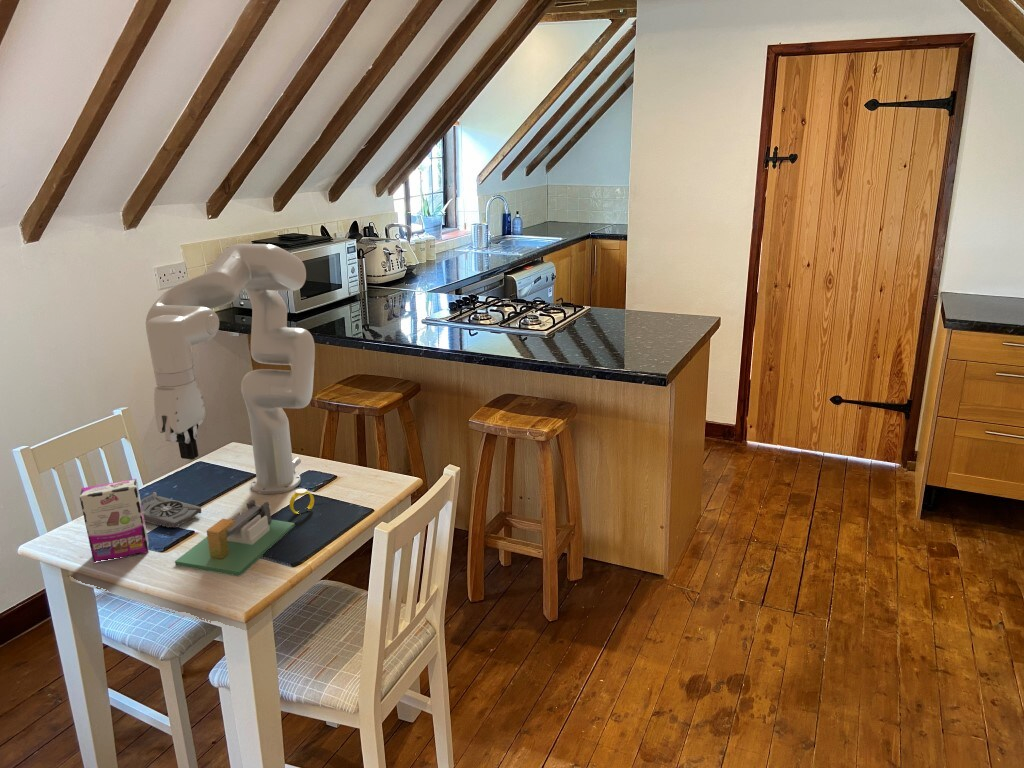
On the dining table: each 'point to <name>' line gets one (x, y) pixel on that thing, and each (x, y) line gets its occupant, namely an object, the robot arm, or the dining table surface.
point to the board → (239, 544)
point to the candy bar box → (114, 520)
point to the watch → (299, 493)
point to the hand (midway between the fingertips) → (189, 457)
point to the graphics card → (167, 511)
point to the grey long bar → (244, 518)
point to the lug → (219, 538)
